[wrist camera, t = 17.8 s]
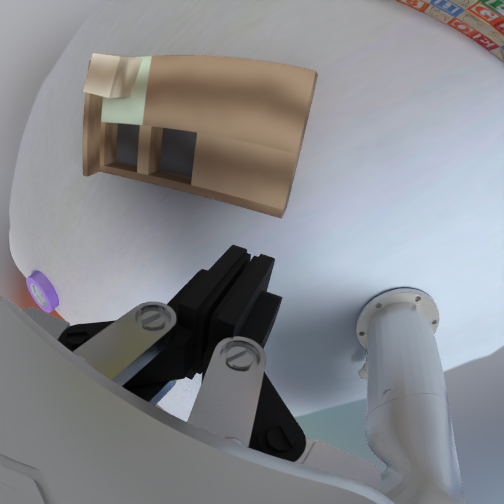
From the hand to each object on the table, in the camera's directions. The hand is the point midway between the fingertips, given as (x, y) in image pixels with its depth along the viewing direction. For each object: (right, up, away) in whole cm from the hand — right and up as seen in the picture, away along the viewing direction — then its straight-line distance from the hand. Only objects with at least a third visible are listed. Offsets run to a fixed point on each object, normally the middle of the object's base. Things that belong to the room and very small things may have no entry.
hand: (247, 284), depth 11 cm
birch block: (-16, +23, +15) cm, 32 cm away
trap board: (-7, +17, +19) cm, 27 cm away
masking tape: (-57, -9, +51) cm, 77 cm away
